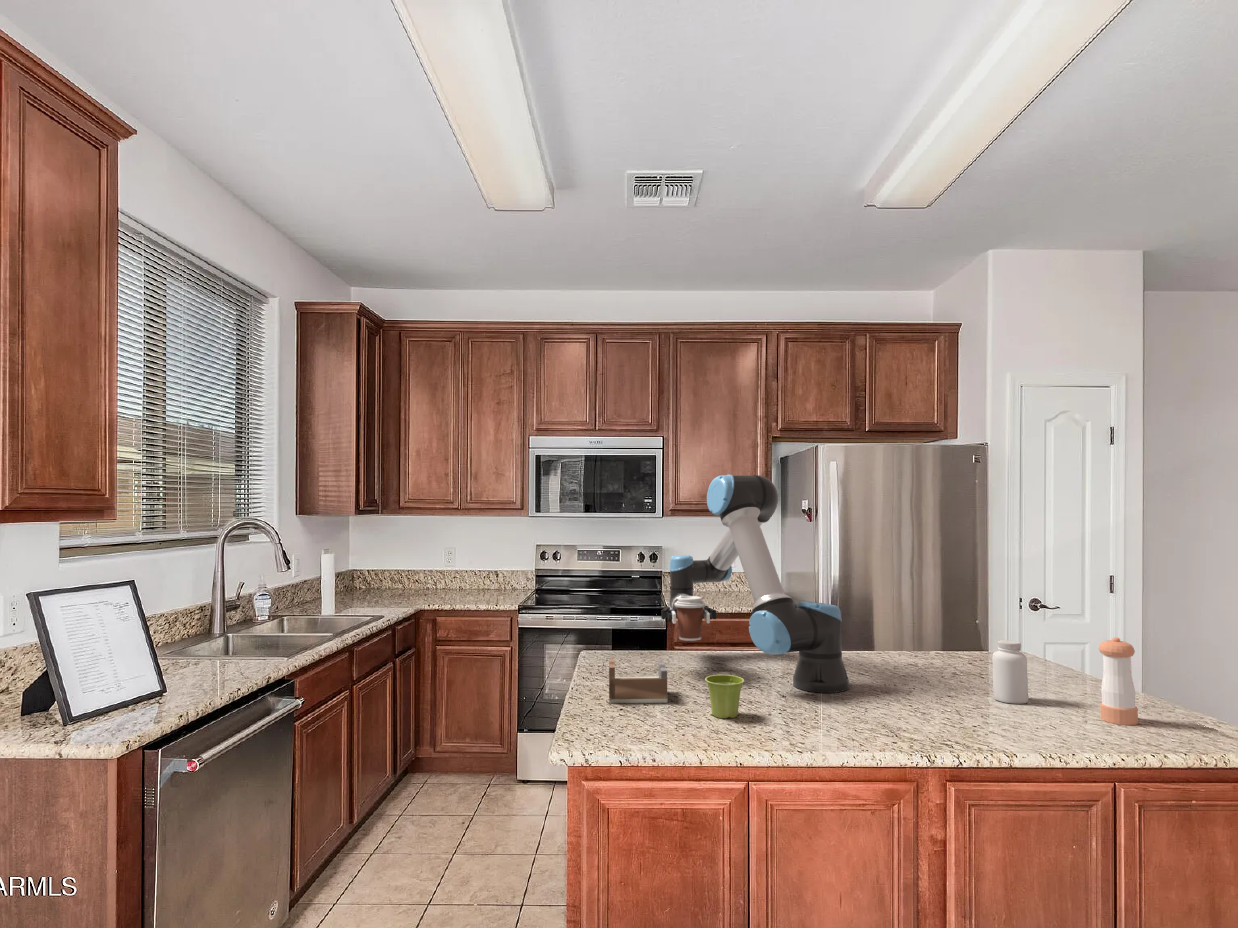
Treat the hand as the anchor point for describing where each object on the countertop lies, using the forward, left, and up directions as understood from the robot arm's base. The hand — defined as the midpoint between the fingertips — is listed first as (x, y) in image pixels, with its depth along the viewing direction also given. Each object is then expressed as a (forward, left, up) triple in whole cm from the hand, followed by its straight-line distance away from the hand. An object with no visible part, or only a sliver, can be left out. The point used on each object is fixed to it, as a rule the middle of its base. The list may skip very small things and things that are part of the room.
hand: (691, 618), depth 216 cm
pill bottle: (-53, -64, -18) cm, 85 cm away
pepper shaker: (-76, -71, -18) cm, 105 cm away
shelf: (-2, +19, -18) cm, 26 cm away
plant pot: (-32, +9, -18) cm, 38 cm away
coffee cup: (+4, -2, -7) cm, 8 cm away
